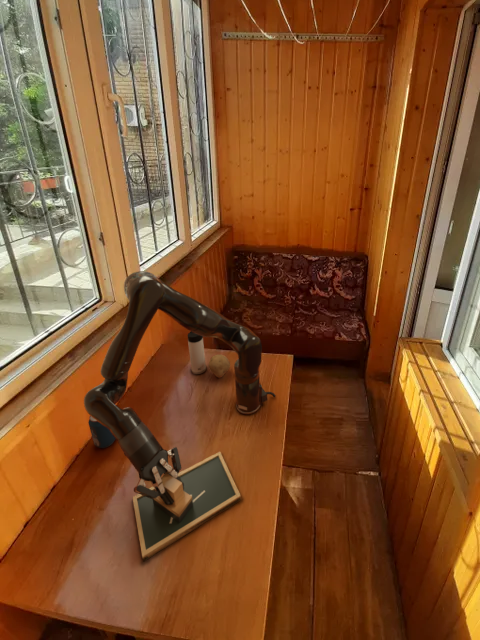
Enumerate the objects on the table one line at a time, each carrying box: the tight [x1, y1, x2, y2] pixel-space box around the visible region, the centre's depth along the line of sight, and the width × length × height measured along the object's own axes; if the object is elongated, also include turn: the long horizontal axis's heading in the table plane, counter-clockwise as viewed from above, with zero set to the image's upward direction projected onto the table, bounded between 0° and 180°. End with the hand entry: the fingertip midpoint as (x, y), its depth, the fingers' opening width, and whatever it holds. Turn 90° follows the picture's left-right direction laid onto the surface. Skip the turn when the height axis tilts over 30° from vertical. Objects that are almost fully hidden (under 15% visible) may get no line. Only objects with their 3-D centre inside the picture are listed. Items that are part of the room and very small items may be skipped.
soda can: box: [88, 415, 116, 449], centre depth 104 cm, size 7×7×12 cm
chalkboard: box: [132, 451, 242, 562], centre depth 88 cm, size 26×16×2 cm, turn 123°
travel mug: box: [187, 331, 207, 375], centre depth 137 cm, size 6×7×20 cm
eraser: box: [153, 473, 193, 523], centre depth 85 cm, size 10×5×9 cm, turn 63°
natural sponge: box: [208, 354, 231, 378], centre depth 136 cm, size 9×9×10 cm
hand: (177, 496), depth 84 cm, fingers closed on eraser, 3 cm apart
